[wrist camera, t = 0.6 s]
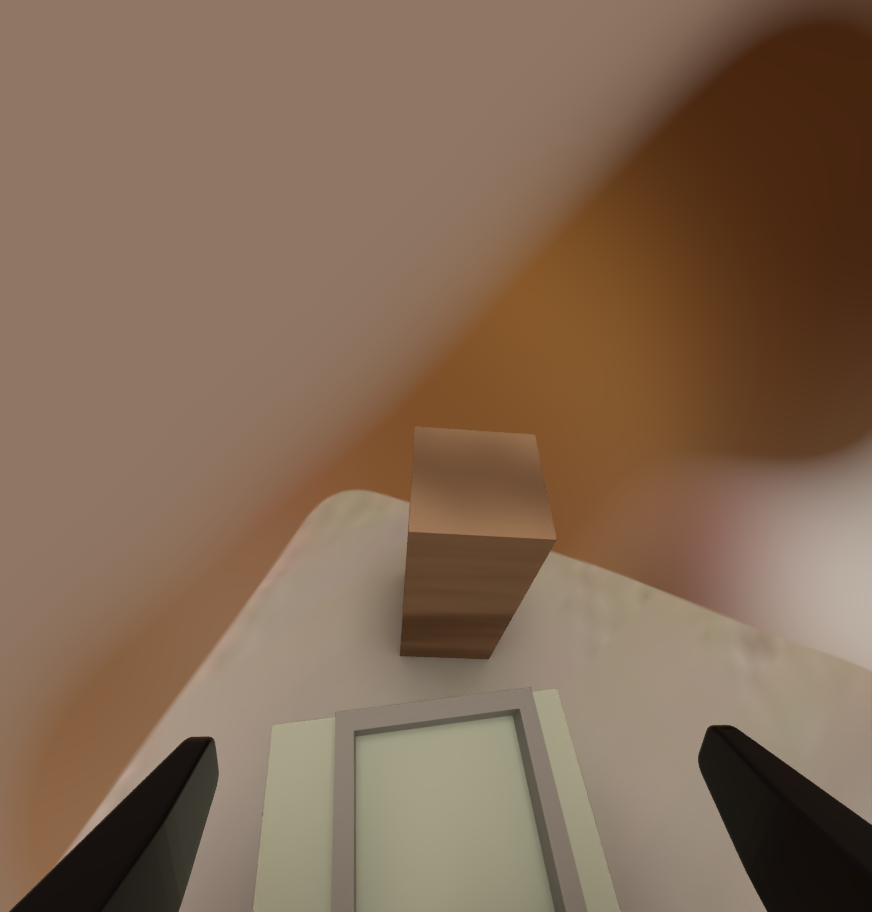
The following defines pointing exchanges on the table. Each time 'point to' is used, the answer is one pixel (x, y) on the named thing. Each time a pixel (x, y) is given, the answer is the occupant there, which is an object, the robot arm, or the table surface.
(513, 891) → the footing plate
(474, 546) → the walnut pillar
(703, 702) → the table surface
